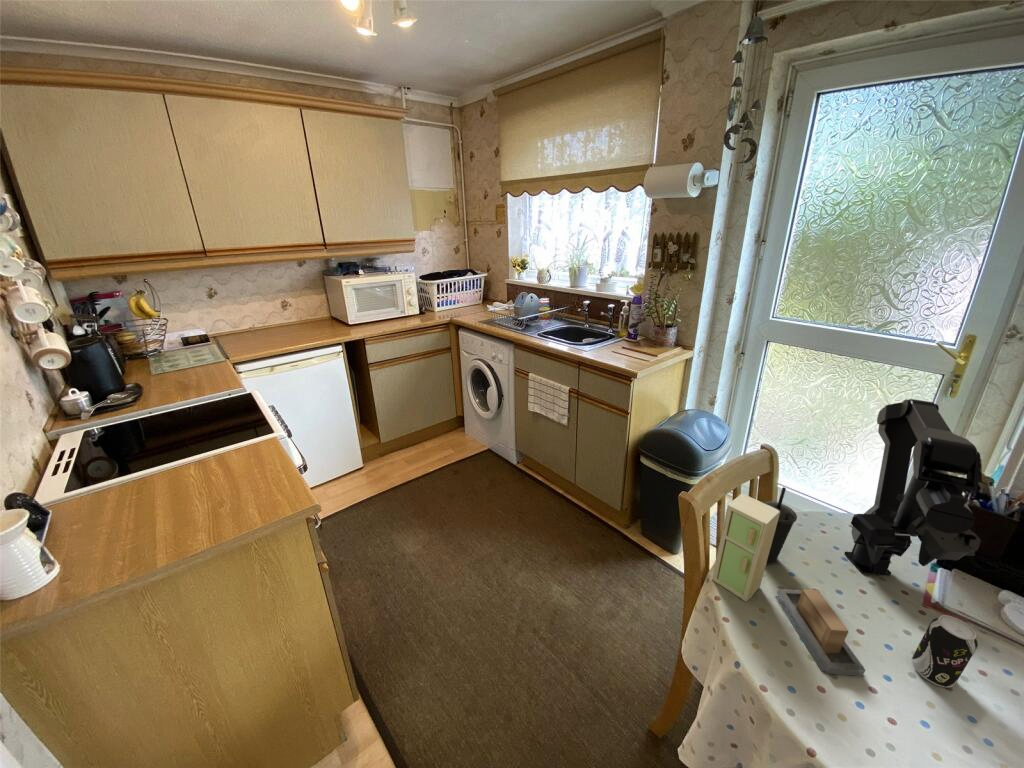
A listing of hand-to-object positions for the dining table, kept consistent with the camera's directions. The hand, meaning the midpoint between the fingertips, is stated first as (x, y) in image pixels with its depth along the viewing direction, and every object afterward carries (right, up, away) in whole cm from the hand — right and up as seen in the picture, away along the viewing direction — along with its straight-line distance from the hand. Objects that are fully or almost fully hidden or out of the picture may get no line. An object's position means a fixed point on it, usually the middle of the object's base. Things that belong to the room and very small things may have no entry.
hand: (897, 563), depth 83 cm
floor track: (-17, -13, -1) cm, 22 cm away
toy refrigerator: (-28, -9, +10) cm, 31 cm away
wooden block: (-17, -13, -1) cm, 22 cm away
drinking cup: (-16, -6, +18) cm, 25 cm away
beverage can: (-2, -16, -8) cm, 19 cm away
